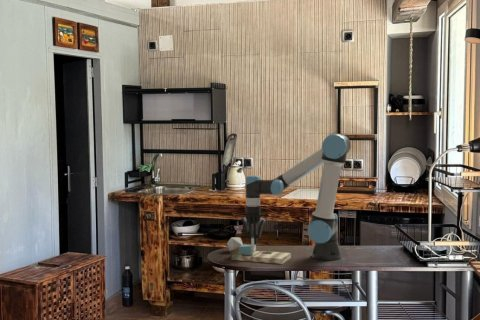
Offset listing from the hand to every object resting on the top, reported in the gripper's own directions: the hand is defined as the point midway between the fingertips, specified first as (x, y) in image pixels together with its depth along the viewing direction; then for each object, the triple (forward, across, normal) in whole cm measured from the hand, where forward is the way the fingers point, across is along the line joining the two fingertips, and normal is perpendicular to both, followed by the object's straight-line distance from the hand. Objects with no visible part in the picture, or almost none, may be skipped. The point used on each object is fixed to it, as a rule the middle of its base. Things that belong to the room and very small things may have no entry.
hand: (253, 250), depth 281 cm
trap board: (+4, -4, 0) cm, 6 cm away
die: (+4, +15, -11) cm, 19 cm away
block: (+2, +4, 0) cm, 4 cm away
